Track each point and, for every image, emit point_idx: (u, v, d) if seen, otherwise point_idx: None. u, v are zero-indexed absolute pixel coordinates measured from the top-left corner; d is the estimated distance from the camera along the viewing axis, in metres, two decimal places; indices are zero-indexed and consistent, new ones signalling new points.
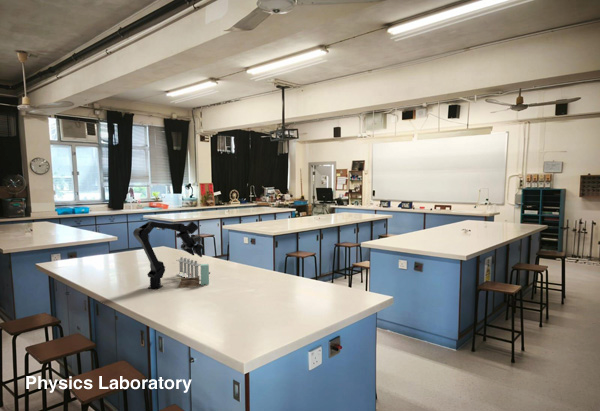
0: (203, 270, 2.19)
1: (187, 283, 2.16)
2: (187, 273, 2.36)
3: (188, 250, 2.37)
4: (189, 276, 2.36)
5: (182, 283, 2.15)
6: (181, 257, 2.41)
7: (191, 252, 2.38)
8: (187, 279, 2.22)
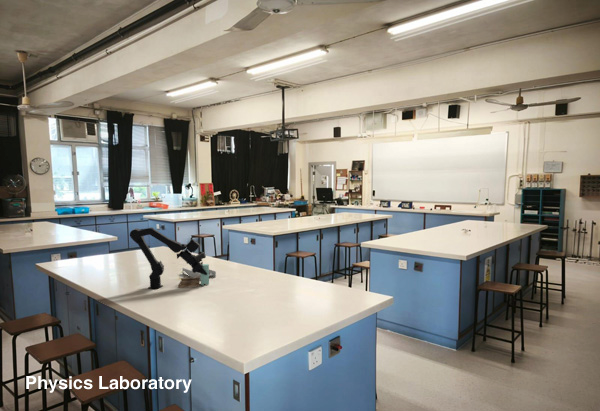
0: None
1: (187, 283, 2.16)
2: None
3: None
4: None
5: (182, 283, 2.15)
6: None
7: None
8: (187, 279, 2.22)
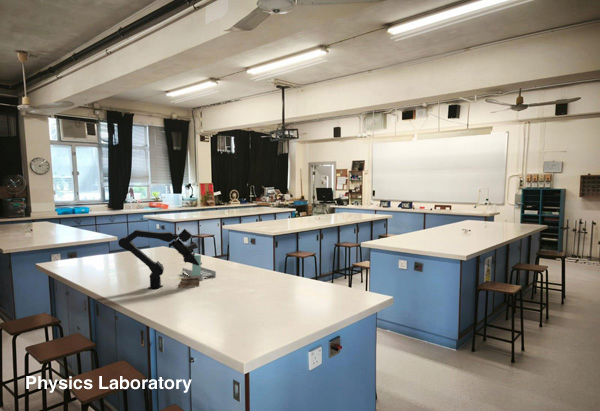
0: None
1: (187, 283, 2.16)
2: None
3: None
4: None
5: (182, 283, 2.15)
6: None
7: None
8: (187, 279, 2.22)
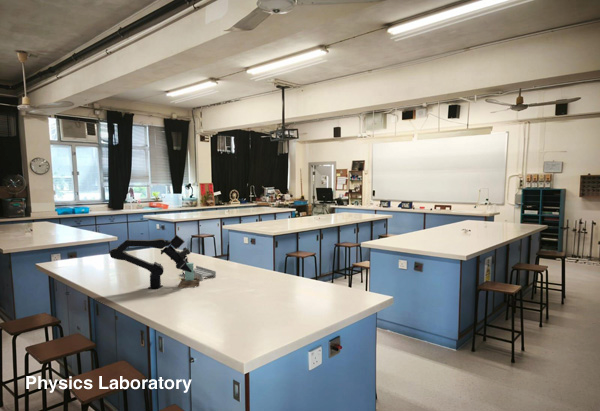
0: None
1: (187, 283, 2.16)
2: None
3: None
4: None
5: (182, 283, 2.15)
6: None
7: None
8: None
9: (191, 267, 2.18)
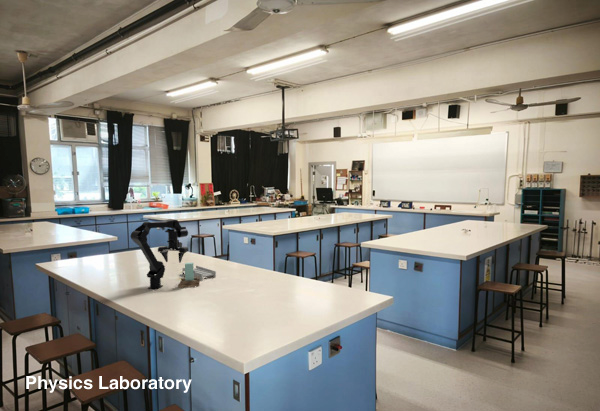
0: (188, 269, 2.18)
1: (187, 283, 2.16)
2: None
3: (165, 254, 2.25)
4: None
5: (182, 283, 2.15)
6: None
7: (166, 258, 2.26)
8: None
9: (191, 267, 2.18)
